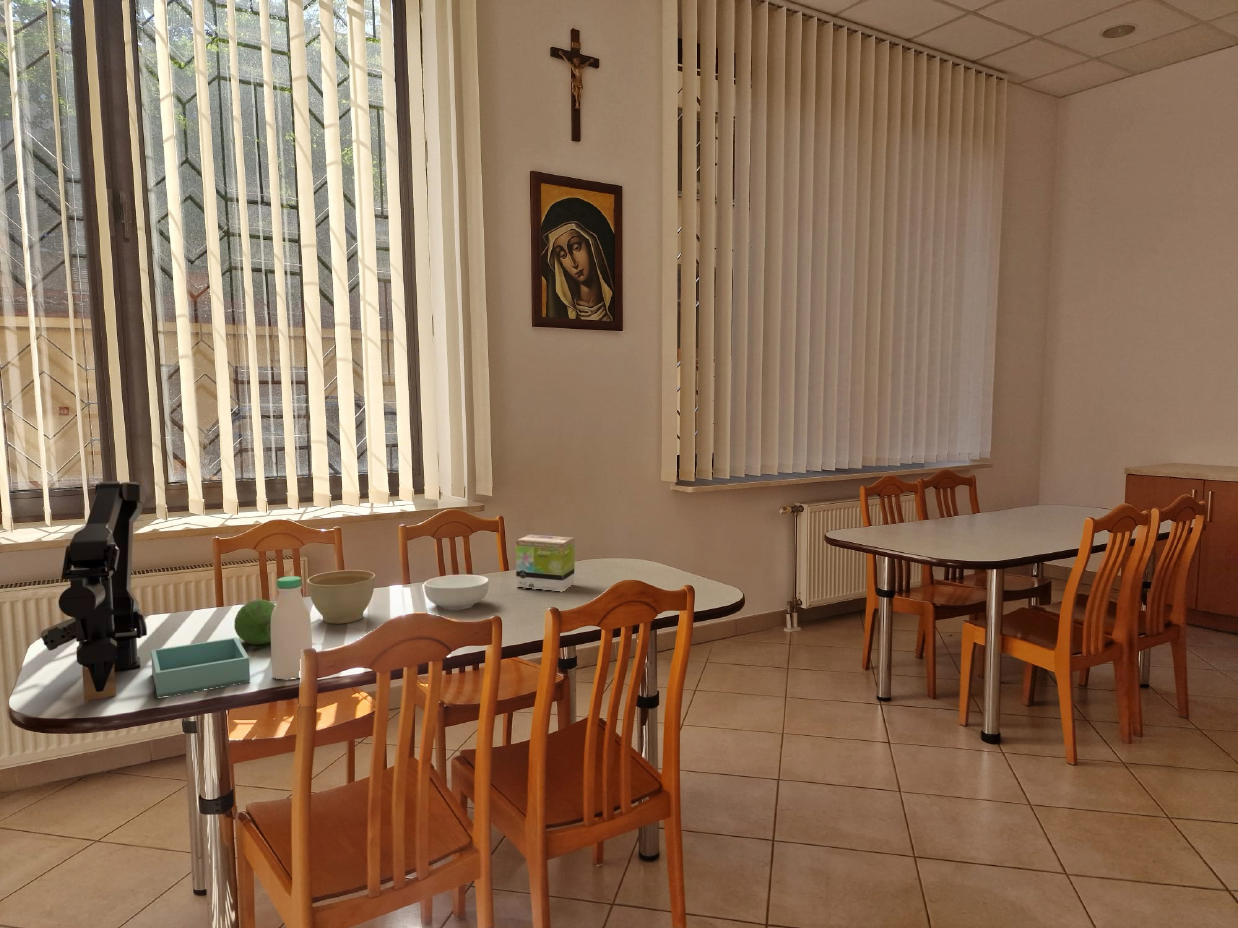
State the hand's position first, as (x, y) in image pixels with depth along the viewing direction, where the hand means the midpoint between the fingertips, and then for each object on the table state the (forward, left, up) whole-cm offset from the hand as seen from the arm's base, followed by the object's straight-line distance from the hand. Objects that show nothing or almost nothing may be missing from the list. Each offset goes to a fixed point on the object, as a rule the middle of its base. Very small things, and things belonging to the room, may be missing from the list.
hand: (99, 683), depth 154 cm
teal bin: (+1, +17, -2) cm, 17 cm away
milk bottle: (+9, +33, -2) cm, 34 cm away
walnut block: (0, 0, -2) cm, 2 cm away
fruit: (-16, +31, -2) cm, 35 cm away
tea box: (-29, +111, -2) cm, 115 cm away
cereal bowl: (-23, +81, -2) cm, 84 cm away
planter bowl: (-27, +52, -2) cm, 59 cm away
